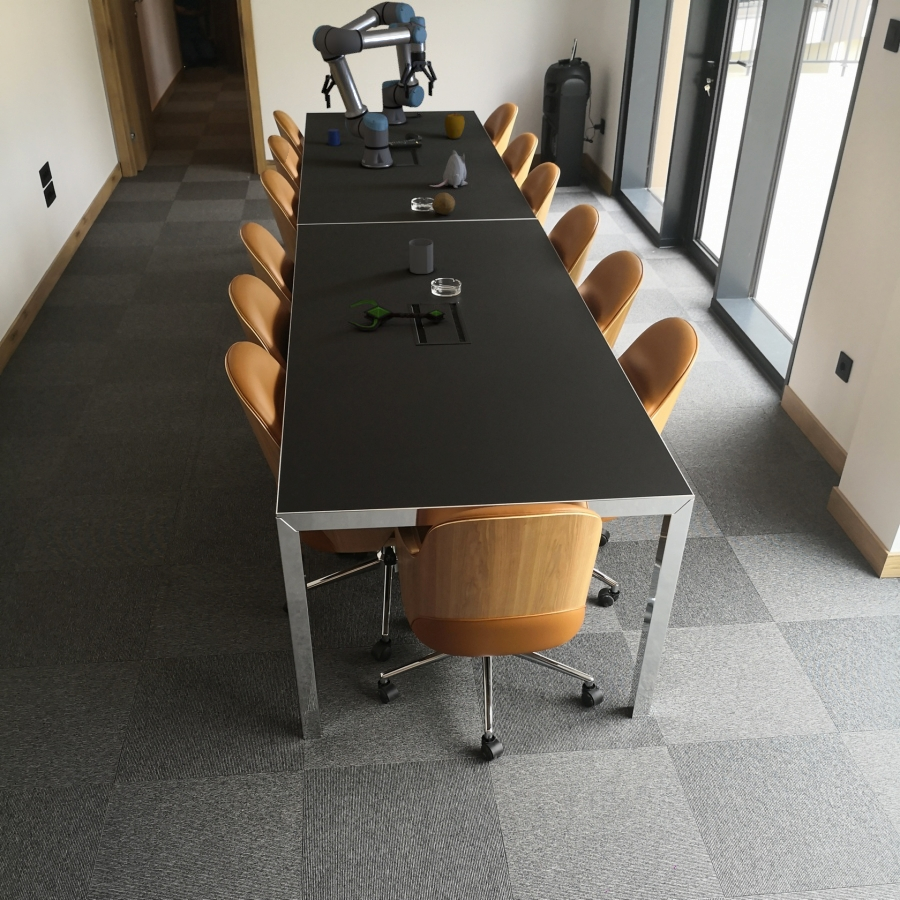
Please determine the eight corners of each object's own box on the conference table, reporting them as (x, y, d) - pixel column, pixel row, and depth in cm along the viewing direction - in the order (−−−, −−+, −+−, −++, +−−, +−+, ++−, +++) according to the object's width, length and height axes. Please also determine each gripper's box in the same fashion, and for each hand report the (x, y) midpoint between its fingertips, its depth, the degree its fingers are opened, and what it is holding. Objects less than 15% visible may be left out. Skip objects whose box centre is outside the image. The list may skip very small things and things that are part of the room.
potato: (453, 208, 369) (453, 189, 365) (456, 218, 357) (456, 199, 353) (431, 208, 368) (430, 189, 364) (432, 218, 356) (432, 199, 352)
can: (326, 144, 463) (325, 130, 459) (332, 142, 467) (331, 128, 463) (335, 146, 460) (334, 131, 456) (342, 143, 465) (341, 129, 461)
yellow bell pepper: (464, 140, 471) (464, 115, 464) (444, 140, 471) (444, 115, 464) (464, 135, 480) (464, 111, 473) (444, 135, 480) (444, 111, 473)
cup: (409, 265, 311) (408, 238, 306) (432, 265, 312) (431, 238, 307) (410, 274, 304) (409, 246, 299) (433, 273, 305) (433, 246, 299)
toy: (472, 184, 399) (472, 151, 391) (436, 195, 384) (436, 161, 376) (457, 180, 404) (458, 147, 396) (422, 191, 389) (421, 157, 381)
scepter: (445, 294, 271) (348, 292, 269) (446, 325, 264) (347, 323, 262) (443, 307, 276) (349, 305, 274) (445, 338, 269) (347, 336, 267)
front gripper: (435, 48, 437) (436, 93, 448) (392, 52, 426) (393, 98, 437) (443, 50, 431) (443, 95, 443) (399, 54, 420) (400, 100, 432)
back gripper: (312, 64, 446) (315, 108, 458) (353, 68, 437) (355, 113, 448) (321, 62, 452) (323, 105, 463) (361, 66, 442) (363, 110, 453)
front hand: (418, 97), depth 440 cm, fingers open, 13 cm apart
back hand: (339, 109), depth 455 cm, fingers open, 13 cm apart
